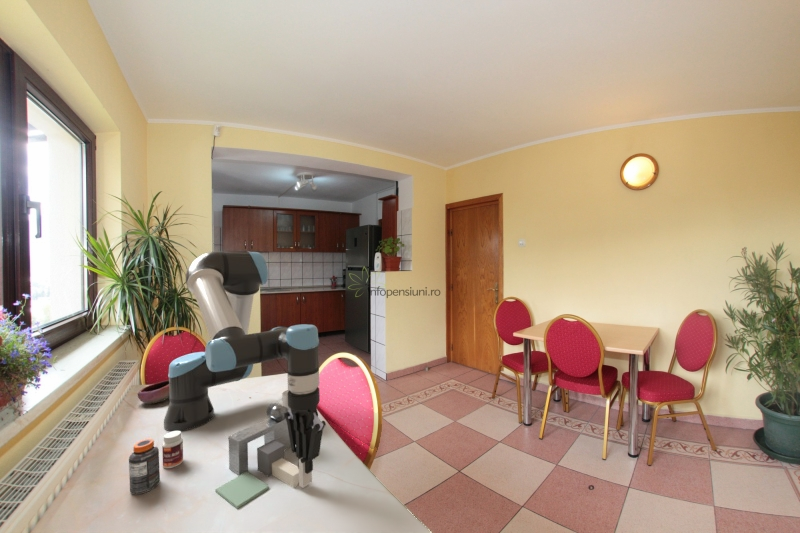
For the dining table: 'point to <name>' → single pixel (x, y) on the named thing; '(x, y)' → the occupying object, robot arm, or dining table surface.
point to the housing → (269, 428)
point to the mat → (241, 489)
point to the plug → (277, 463)
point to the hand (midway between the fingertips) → (305, 483)
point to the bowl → (154, 392)
